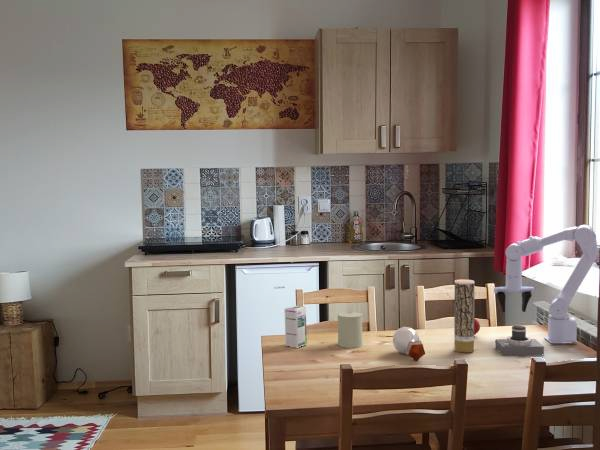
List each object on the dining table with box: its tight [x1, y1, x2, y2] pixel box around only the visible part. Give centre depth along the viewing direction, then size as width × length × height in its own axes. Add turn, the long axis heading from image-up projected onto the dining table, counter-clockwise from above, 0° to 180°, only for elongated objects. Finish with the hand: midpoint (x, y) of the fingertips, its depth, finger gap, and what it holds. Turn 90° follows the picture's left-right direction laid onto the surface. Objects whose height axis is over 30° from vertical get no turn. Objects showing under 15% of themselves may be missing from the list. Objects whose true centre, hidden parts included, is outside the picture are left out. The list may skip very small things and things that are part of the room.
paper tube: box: [453, 278, 476, 354], centre depth 245 cm, size 7×7×25 cm
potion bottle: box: [392, 326, 426, 362], centre depth 241 cm, size 9×10×15 cm
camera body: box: [495, 335, 545, 356], centre depth 244 cm, size 14×10×4 cm
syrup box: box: [284, 305, 308, 349], centre depth 256 cm, size 6×6×14 cm
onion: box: [474, 317, 481, 336], centre depth 265 cm, size 6×6×8 cm
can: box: [337, 311, 363, 349], centre depth 256 cm, size 9×9×12 cm
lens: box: [511, 325, 527, 341], centre depth 244 cm, size 5×5×6 cm
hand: (513, 311), depth 262 cm, fingers open, 7 cm apart
